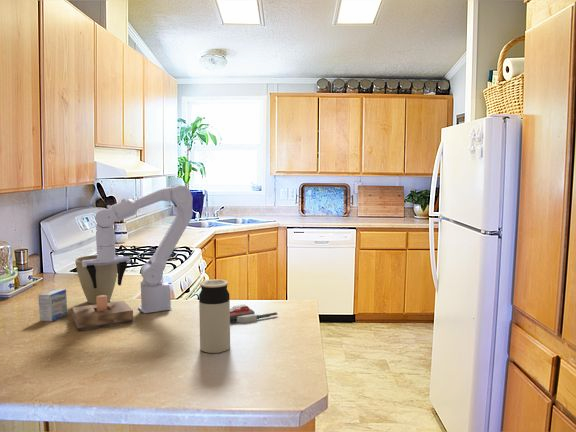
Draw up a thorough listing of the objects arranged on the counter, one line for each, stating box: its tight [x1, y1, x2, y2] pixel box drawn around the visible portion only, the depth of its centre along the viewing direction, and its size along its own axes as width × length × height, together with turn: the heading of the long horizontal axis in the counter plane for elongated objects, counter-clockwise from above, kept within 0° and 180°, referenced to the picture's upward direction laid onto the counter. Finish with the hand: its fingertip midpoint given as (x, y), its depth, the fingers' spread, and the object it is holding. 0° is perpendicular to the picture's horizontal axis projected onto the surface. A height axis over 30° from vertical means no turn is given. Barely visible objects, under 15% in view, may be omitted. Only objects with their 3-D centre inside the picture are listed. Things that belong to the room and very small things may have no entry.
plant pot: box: [74, 254, 120, 305], centre depth 176 cm, size 15×15×16 cm
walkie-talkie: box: [230, 304, 278, 324], centre depth 157 cm, size 9×4×20 cm
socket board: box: [71, 300, 134, 332], centre depth 154 cm, size 16×13×4 cm
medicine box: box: [38, 288, 68, 323], centre depth 157 cm, size 8×4×9 cm, turn 168°
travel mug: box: [198, 278, 231, 354], centre depth 130 cm, size 8×8×18 cm
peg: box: [96, 295, 108, 312], centre depth 154 cm, size 3×3×7 cm
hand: (107, 286), depth 161 cm, fingers open, 7 cm apart
